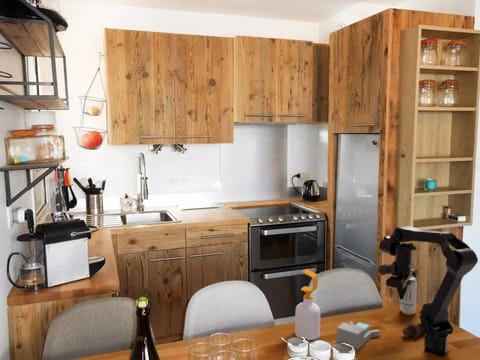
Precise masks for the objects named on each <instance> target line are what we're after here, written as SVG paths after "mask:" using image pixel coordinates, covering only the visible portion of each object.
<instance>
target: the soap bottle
mask: <svg viewBox="0 0 480 360" xmlns="http://www.w3.org/2000/svg"><path fill="white" fill-rule="evenodd" d="M302 274H304V275H306V276H308V277H310V278H311V279H312V287H311V286H305V285H304V286H303V287H302V288H300V291H302V292H304V293H305V294H304V295H303V301H302V302H300V303H299V304H297V305H296V307H295V317H294V318H295V319H294V324H295V326H294V327H295V328H294V330H295V331H294V333H295V336H296V337H297V338H299V337H304V338H305V339H307V340H306V341H314V340H318V339H319V338H320V335H321V309H320V307H319V305H318V304H316V303H314V302H313V299H314V296H313V295H311V294H313V292H315V291H316V290H317V288H318V285H319V284H318V281H319V279H318V278H319V277H318V274H317V273H316V272H314V271H312V270H309V269H307V268H306V269H304V270H303V271H302Z"/></svg>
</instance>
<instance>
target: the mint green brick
mask: <svg viewBox="0 0 480 360" xmlns="http://www.w3.org/2000/svg"><path fill="white" fill-rule="evenodd" d="M354 325H355V326H357V327H360V328H363V329H364V334H366V333H367V332H368V331H370V324H367V323H365V322H364V323H363V322H360V321H359V322H358V323H356V324H354Z"/></svg>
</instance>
